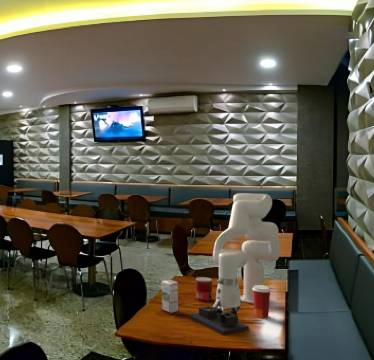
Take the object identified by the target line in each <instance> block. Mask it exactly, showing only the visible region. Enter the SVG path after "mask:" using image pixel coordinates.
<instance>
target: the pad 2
mask: <svg viewBox="0 0 374 360" xmlns="http://www.w3.org/2000/svg"><path fill="white" fill-rule="evenodd" d="M230 312H231V311H230ZM230 312H229V311H224V315H225V325H227V326H229V325H235V324H238V322H239V315H238V314H237V315H235V314H232V313H230ZM217 321H218V314H217ZM218 322H219V321H218ZM222 324H223V323H222Z"/></svg>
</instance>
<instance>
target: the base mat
mask: <svg viewBox="0 0 374 360" xmlns="http://www.w3.org/2000/svg"><path fill="white" fill-rule="evenodd" d="M207 310H210V309H207ZM188 317H189V319H191V320H192V321H195V322H197V323H199V324H201V325H203V326H205V327H207V328H209V329H211V330H213V331H215V332H217V333H219V334H221V335H224V336H225V335H229V334H234V333H239V332H245V331H249V330H250V327H249V325H247V324H244V323H242V322H240V321H238V324H235V325H229V326H227V325H225V324H222V323H220V322H218V321H217V317H216V318H211V319H207V318H205V317H202V316H200V315H199V312H196V313H190V314H188Z"/></svg>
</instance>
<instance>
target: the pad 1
mask: <svg viewBox="0 0 374 360" xmlns="http://www.w3.org/2000/svg"><path fill="white" fill-rule="evenodd" d="M207 309H210V310H207ZM198 313H199V315H200V316H202V317H205V318H207V319H211V318H216V317H217V314H218V313H217V311H216V310H215V309H214V308H213V306H210V305H206V306H200V307H198Z"/></svg>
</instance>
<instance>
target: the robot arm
mask: <svg viewBox="0 0 374 360" xmlns="http://www.w3.org/2000/svg"><path fill="white" fill-rule="evenodd" d="M232 201H233V203H232V207H231V213H230V216H229V223H228V228H226V229H224V231H223V232H221V233H220V234H219V236H218V237H217V238H216V240H215V242H214V246H213V251H212V261H213V262H214V264H216V265H218V279H217V287H216V292H215V302H214V304H213V305H212V307H213V308H214V309H215V310H216V311H217V313H218V321H219V322H220V323H223V324H225V315H224V312H226V310H229V309H230V313H232V314H235V315H237V316H238V313H239V310H240V309H241V307H242V305H243V302H244V303H247V304H251V305H252V304H253V305H254V291H253V287H254V286H255V285H263V286H265V283H264V282H265V268H264V265H263V263H262V262H261V261H268V262H276V261H278V260H279V258H280V251H281V250H280V235H279V227H278V226H277V224H276V223H274V222H270V221H263V220H262V219H264V218H266V216H267V215H268V214H269V212H270V211H271V209H272V206H273V199H272V196H271V195H269V194H268V193H253V192H252V193H250V192H238V193H236V194H234V195H233V198H232ZM243 236H244V237H245V238H246V239H248V240H245V241H244V242H243V243H242V244H241V250H237V249H230V248H223V247H224V245H225V244H226V243H227V242H229V241H231V240H234V239H237V238H240V237H243ZM240 268H243V295H241V290H240V286H239V284H238V269H240Z"/></svg>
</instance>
